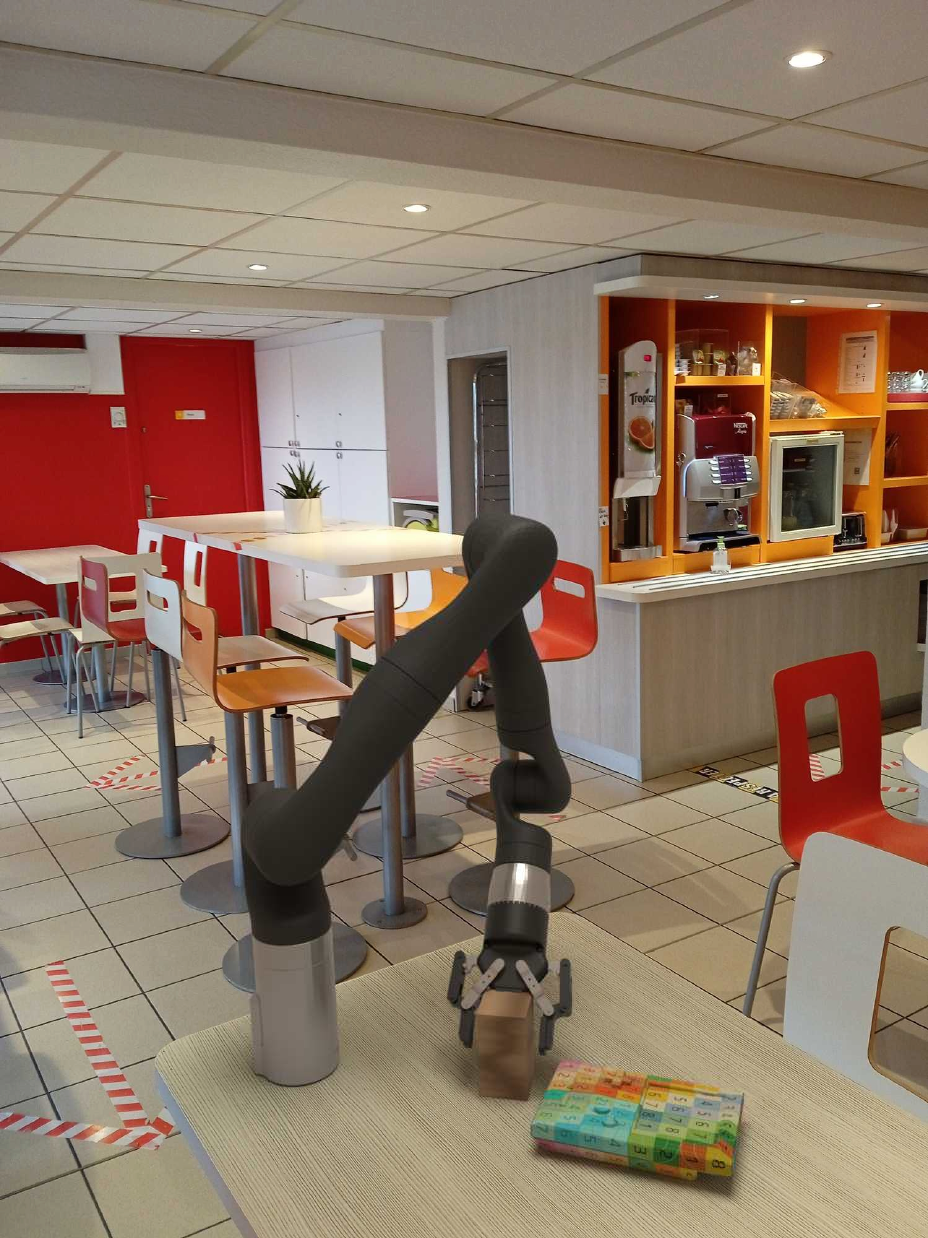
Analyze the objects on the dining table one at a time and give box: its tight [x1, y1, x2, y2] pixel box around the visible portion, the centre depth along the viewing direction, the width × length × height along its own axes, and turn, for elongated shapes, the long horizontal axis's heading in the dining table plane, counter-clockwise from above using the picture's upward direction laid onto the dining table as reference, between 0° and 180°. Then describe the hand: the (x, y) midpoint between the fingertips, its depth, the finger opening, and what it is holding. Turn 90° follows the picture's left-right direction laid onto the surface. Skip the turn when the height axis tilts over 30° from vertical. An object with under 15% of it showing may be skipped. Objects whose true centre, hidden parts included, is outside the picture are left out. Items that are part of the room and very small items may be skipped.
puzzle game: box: [529, 1058, 745, 1181], centre depth 107 cm, size 12×5×20 cm
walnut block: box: [475, 989, 536, 1102], centre depth 117 cm, size 6×6×10 cm
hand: (504, 1050), depth 115 cm, fingers open, 8 cm apart
